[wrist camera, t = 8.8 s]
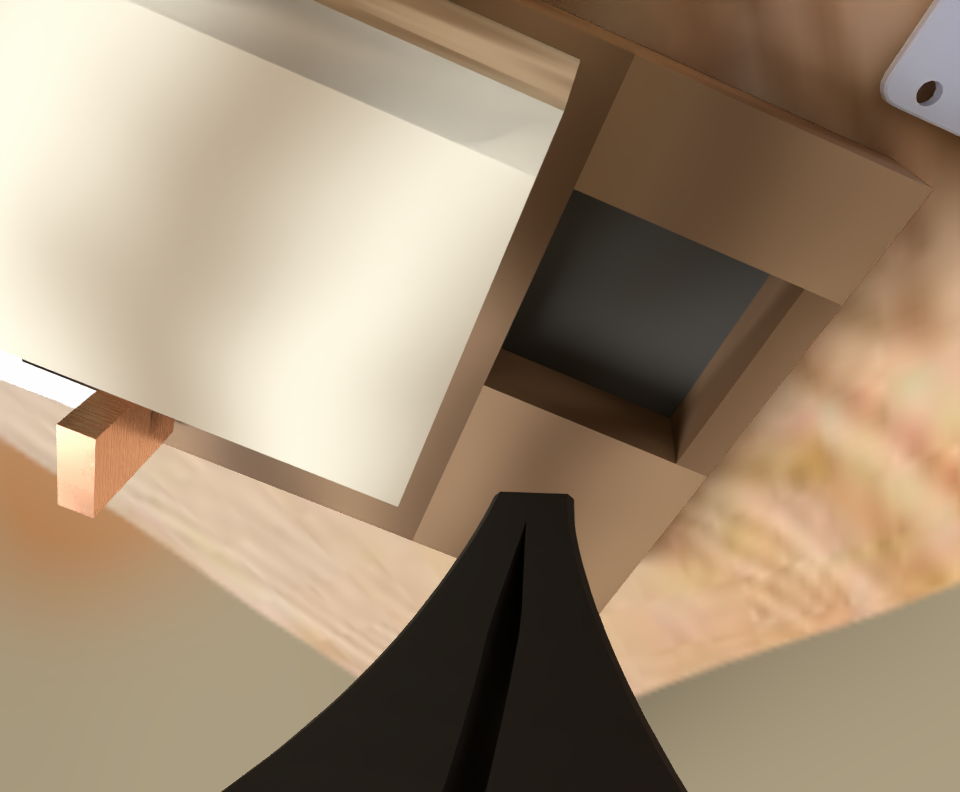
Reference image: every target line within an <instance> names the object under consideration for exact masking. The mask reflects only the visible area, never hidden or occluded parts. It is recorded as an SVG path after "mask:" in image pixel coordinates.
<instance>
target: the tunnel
mask: <svg viewBox="0 0 960 792" xmlns="http://www.w3.org/2000/svg"><path fill="white" fill-rule="evenodd" d="M932 191H933V188H932V187H930V186H929V185H927V184H926V183H925V182H923V181H922V180H921V179H919V178H918V177H917V176H915V175H914V174H913V173H911V172H910V171H908V170H907V169H906V168H904V167H903V166H902V165H900V164H899V163H898V162H896V161H895V160H893V159H891V158H889V157H887V156H885V155H882V154H880V153H878V152H876V151H874V150H871V149H869V148H867V147H865V146H862V145H860V144H858V143H856V142H854V141H851V140H849V139H847V138H845V137H843V136H840V135H838V134H836V133H834V132H831V131H829V130H827V129H825V128H823V127H820V126H818V125H816V124H814V123H812V122H809V121H807V120H805V119H803V118H800V117H798V116H796V115H794V114H792V113H789V112H787V111H785V110H783V109H781V108H778V107H776V106H774V105H772V104H770V103H767V102H765V101H763V100H761V99H758V98H756V97H754V96H752V95H750V94H747V93H745V92H743V91H741V90H739V89H736V88H734V87H732V86H730V85H727V84H725V83H723V82H721V81H719V80H716V79H714V78H712V77H710V76H708V75H705V74H703V73H701V72H699V71H696V70H694V69H692V68H690V67H688V66H685V65H683V64H681V63H679V62H677V61H674V60H672V59H670V58H668V57H666V56H663V55H661V54H659V53H657V52H654V51H652V50H650V49H648V48H646V47H643V46H641V45H639V44H637V43H635V42H632V41H630V40H628V39H626V38H623V37H621V36H619V35H617V34H615V33H612V32H610V31H608V30H606V29H604V28H601V27H599V26H597V25H595V24H592V23H590V22H588V21H586V20H584V19H581V18H579V17H577V16H575V15H573V14H570V13H568V12H566V11H564V10H561V9H559V8H557V7H555V6H553V5H550V4H548V3H546V2H544V1H542V0H0V350H1V351H3V352H6V353H8V354H11V355H13V356H16V357H19V358H21V359H24V360H26V361H29V362H31V363H34V364H36V365H39V366H41V367H44V368H46V369H49V370H52V371H54V372H57V373H59V374H62V375H64V376H67V377H69V378H72V379H74V380H77V381H79V382H82V383H85V384H87V385H90V386H92V387H95V388H97V389H100V390H102V391H105V392H107V393H110V394H112V395H115V396H118V397H120V398H123V399H125V400H128V401H130V402H133V403H135V404H138V405H140V406H143V407H145V408H148V409H151V410H153V411H156V412H158V413H161V414H163V415H166V416H168V417H171V418H173V419H175V420H174V429H173V432H172V434H171V435H170V436H169V437H168V438H167V439H166V440H165V441H164V442H163V443H164V444H166V445H169V446H171V447H174V448H177V449H179V450H182V451H184V452H187V453H189V454H192V455H194V456H197V457H200V458H202V459H205V460H207V461H210V462H212V463H215V464H217V465H220V466H223V467H225V468H228V469H230V470H233V471H235V472H238V473H241V474H243V475H246V476H248V477H251V478H253V479H256V480H258V481H261V482H264V483H266V484H269V485H271V486H274V487H276V488H279V489H281V490H284V491H287V492H289V493H292V494H294V495H297V496H299V497H302V498H304V499H307V500H310V501H312V502H315V503H317V504H320V505H322V506H325V507H327V508H330V509H333V510H335V511H338V512H340V513H343V514H345V515H348V516H350V517H353V518H356V519H358V520H361V521H363V522H366V523H368V524H371V525H373V526H376V527H379V528H381V529H384V530H386V531H389V532H391V533H394V534H396V535H399V536H402V537H404V538H407V539H409V540H412V541H414V542H417V543H419V544H422V545H425V546H427V547H430V548H432V549H435V550H437V551H440V552H443V553H445V554H448V555H450V556H453V557H455V558H458V557H459V555H460V554H461V552H462V551H463V549H464V548H465V546H466V545H467V543H468V542H469V540H470V538H471V537H472V535H473V533H474V532H475V530H476V529H477V527H478V525H479V524H480V522H481V520H482V518H483V517H484V515H485V513H486V511H487V509H488V508H489V506H490V504H491V502H492V500H493V498H494V496H495V495H496V494H498V493H499V492H530V493H559V494H569V495H570V496H571V497H572V498H573V499H574V510H575V530H576V536H577V541H578V546H579V550H580V555H581V559H582V562H583V566H584V569H585V573H586V576H587V579H588V583H589V586H590V589H591V593H592V596H593V599H594V602H595V604H596V607H597V610H598V613H599V614H600V612H601V611H602V610H603V609H604V607H605V606H606V605H607V603H608V602H609V601H610V600H611V598H612V597H613V596H614V595H615V593H616V592H617V591H618V589H619V588H620V587H621V586H622V584H623V583H624V582H625V581H626V579H627V578H628V577H629V575H630V574H631V573H632V572H633V570H634V569H635V568H636V567H637V565H638V564H639V563H640V562H641V560H642V559H643V558H644V556H645V555H646V554H647V553H648V551H649V550H650V549H651V548H652V546H653V545H654V544H655V542H656V541H657V540H658V539H659V537H660V536H661V535H662V534H663V532H664V531H665V530H666V529H667V527H668V526H669V525H670V523H671V522H672V521H673V520H674V518H675V517H676V516H677V515H678V513H679V512H680V511H681V509H682V508H683V507H684V506H685V504H686V503H687V502H688V501H689V499H690V498H691V497H692V495H693V494H694V493H695V492H696V490H697V489H698V488H699V487H700V485H701V484H702V483H703V482H704V480H705V479H706V478H707V476H708V475H709V474H710V473H711V471H712V470H713V469H714V468H715V466H716V465H717V464H718V462H719V461H720V460H721V459H722V457H723V456H724V455H725V454H726V452H727V451H728V450H729V448H730V447H731V446H732V445H733V443H734V442H735V441H736V440H737V438H738V437H739V436H740V435H741V433H742V432H743V431H744V429H745V428H746V427H747V426H748V424H749V423H750V422H751V421H752V419H753V418H754V417H755V415H756V414H757V413H758V412H759V410H760V409H761V408H762V407H763V405H764V404H765V403H766V401H767V400H768V399H769V398H770V396H771V395H772V394H773V393H774V391H775V390H776V389H777V388H778V386H779V385H780V384H781V382H782V381H783V380H784V379H785V377H786V376H787V375H788V374H789V372H790V371H791V370H792V368H793V367H794V366H795V365H796V363H797V362H798V361H799V360H800V358H801V357H802V356H803V355H804V353H805V352H806V351H807V349H808V348H809V347H810V346H811V344H812V343H813V342H814V341H815V339H816V338H817V337H818V335H819V334H820V333H821V332H822V330H823V329H824V328H825V327H826V325H827V324H828V323H829V321H830V320H831V319H832V318H833V316H834V315H835V314H836V313H837V311H838V310H839V309H840V308H841V306H842V305H843V304H844V302H845V301H846V300H847V299H848V297H849V296H850V295H851V294H852V292H853V291H854V290H855V288H856V287H857V286H858V285H859V283H860V282H861V281H862V280H863V278H864V277H865V276H866V274H867V273H868V272H869V271H870V269H871V268H872V267H873V266H874V264H875V263H876V262H877V261H878V259H879V258H880V257H881V255H882V254H883V253H884V252H885V250H886V249H887V248H888V247H889V245H890V244H891V243H892V241H893V240H894V239H895V238H896V236H897V235H898V234H899V233H900V231H901V230H902V229H903V228H904V226H905V225H906V224H907V222H908V221H909V220H910V219H911V217H912V216H913V215H914V214H915V212H916V211H917V210H918V208H919V207H920V206H921V205H922V203H923V202H924V201H925V200H926V198H927V197H928V196H929V194H930V193H931V192H932ZM0 380H1V379H0ZM5 382H6V381H5ZM10 384H11V383H10ZM13 385H14V384H13ZM18 387H19V386H18ZM23 389H24V388H23ZM28 391H29V390H28ZM33 393H34V392H33ZM36 394H37V393H36ZM41 396H42V395H41ZM46 398H47V397H46ZM51 400H52V399H51ZM56 402H57V401H56ZM59 403H60V402H59ZM64 405H65V404H64ZM69 407H70V406H69ZM74 409H75V408H74Z"/></svg>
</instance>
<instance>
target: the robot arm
mask: <svg viewBox="0 0 960 792" xmlns="http://www.w3.org/2000/svg"><path fill="white" fill-rule="evenodd" d="M929 81H934V82H935V84H936V90H935V92H934V95H933V96H932V97H931V98H930V99H929V100H928V101H925V102H923V103H918V102H917V100H916V94H917V92H918V90H919V88H920V87H921V86H922V85H923V84H924V83H927V82H929ZM880 93H881V96H882V98H883V100H885V101H886V102H887V103H888V104H890V105H892V106H894V107H896V108H898V109H900V110H902V111H905V112H907V113H909V114H911V115H913V116H915V117H918V118H920V119H922V120H924V121H926V122H929V123H931V124H933V125H935V126H937V127H940V128H942V129H944V130H946V131H948V132H950V133H953V134H955V135H957V136H959V137H960V0H933V2H932V3H931V5H930V6H929V8H928V9H927V11H926V12H925V14H924V15H923V17H922V18H921V20H920V21H919V23H918V24H917V26H916V27H915V29H914V30H913V32H912V33H911V35H910V36H909V38H908V39H907V41H906V42H905V44H904V45H903V47H902V48H901V50H900V51H899V52H898V54H897V55H896V57H895V58H894V60H893V61H892V63H891V64H890V66H889V67H888V69H887V70H886V72H885V73H884V76H883V78H882V80H881V82H880ZM222 792H687V790H686V788H685V787H684V785H683V784H682V782H681V780H680V779H679V777H678V775H677V774H676V772H675V770H674V768H673V767H672V765H671V763H670V761H669V759H668V758H667V756H666V754H665V752H664V751H663V749H662V747H661V745H660V743H659V742H658V740H657V738H656V736H655V734H654V733H653V731H652V729H651V727H650V725H649V724H648V722H647V720H646V718H645V716H644V715H643V712H642V711H641V708H640V707H639V705H638V702H637V700H636V698H635V696H634V694H633V692H632V690H631V688H630V686H629V684H628V682H627V680H626V678H625V676H624V673H623V671H622V669H621V667H620V665H619V662H618V660H617V658H616V656H615V653H614V651H613V649H612V646H611V644H610V641H609V639H608V636H607V634H606V631H605V629H604V626H603V623H602V621H601V618H600V616H599V613H598V610H597V607H596V604H595V602H594V599H593V596H592V593H591V589H590V586H589V583H588V579H587V576H586V573H585V569H584V566H583V562H582V559H581V555H580V550H579V546H578V541H577V536H576V530H575V510H574V499H573V498H572V497H571V496H570V495H569V494H559V493H530V492H499V493H498V494H496V495H495V496H494V498H493V500H492V502H491V504H490V506H489V508H488V509H487V511H486V513H485V515H484V517H483V518H482V520H481V522H480V524H479V525H478V527H477V529H476V530H475V532H474V533H473V535H472V537H471V538H470V540H469V542H468V543H467V545H466V546H465V548H464V549H463V551H462V552H461V554H460V555H459V557H458V558H457V560H456V561H455V563H454V564H453V565H452V567H451V568H450V570H449V571H448V573H447V574H446V576H445V577H444V579H443V580H442V581H441V583H440V584H439V585H438V587H437V588H436V589H435V591H434V592H433V593H432V594H431V596H430V597H429V598H428V600H427V601H426V602H425V603H424V605H423V606H422V607H421V609H420V610H419V611H418V613H417V614H416V615H415V616H414V618H413V619H412V620H411V621H410V622H409V624H408V625H407V626H406V627H405V628H404V629H403V631H402V632H401V633H400V634H399V635H398V636H397V638H396V639H395V640H394V641H393V642H392V643H391V644H390V645H389V646H388V648H387V649H386V650H385V651H384V652H383V653H382V654H381V655H380V656H379V657H378V658H377V659H376V660H375V662H374V663H373V664H372V665H371V666H370V667H369V668H368V669H367V670H366V671H365V672H364V673H363V674H362V675H361V676H360V677H359V678H358V679H357V680H356V681H355V682H354V683H353V684H352V685H351V686H350V687H349V688H348V689H347V690H346V691H345V692H343V693H342V694H341V695H340V696H339V697H338V698H337V699H336V700H335V701H334V702H333V703H332V704H330V705H329V706H328V707H327V708H326V709H325V710H324V711H323V712H321V713H320V714H319V715H318V716H317V717H315V718H314V719H313V720H312V721H311V722H310V723H308V724H307V725H306V726H305V727H304V728H303V729H301V730H300V731H299V732H298V733H297V734H296V735H294V736H293V737H292V738H291V739H290V740H289V741H287V742H286V743H285V744H284V745H283V746H281V747H280V748H279V749H278V750H276V751H275V752H274V753H273V754H271V755H270V756H269V757H267V758H266V759H265V760H263V761H262V762H261V763H259V764H258V765H257V766H255V767H254V768H253V769H251V770H250V771H249V772H247V773H246V774H245V775H243V776H242V777H241V778H239V779H238V780H236V781H235V782H234V783H232V784H231V785H230V786H228V787H227V788H226V789H224V790H223V791H222Z"/></svg>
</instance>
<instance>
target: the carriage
mask: <svg viewBox="0 0 960 792" xmlns="http://www.w3.org/2000/svg"><path fill="white" fill-rule="evenodd" d="M0 379H1V380H3V381H6V382H8V383H11V384H14V385H16V386H19V387H21V388H24V389H26V390H29V391H31V392H34V393H37V394H39V395H42V396H44V397H47V398H49V399H52V400H54V401H57V402H60V403H62V404H65V405H67V406H70V407H72V408H75V409H74V410H73V411H72V412H71V413H69V414H68V415H67V416H66V417H65V418H63V419H62V420H61V421H60V422H59V423H58V424H57V478H58V505H61V506H63V507H66V508H68V509H71V510H74V511H76V512H79V513H82V514H84V515H87V516H89V517H92V518H94V517H95V516H96V514H98V512H99V511H100V510H101V509H102V508H103V507H104V506H105V505H106V504H107V503H108V502H109V501H110V499H111V498H112V497H113V496H114V495H115V494H116V493H117V492H118V491H119V490H120V489H121V488H122V487H123V485H124V484H125V483H126V482H127V481H128V480H129V479H130V478H131V477H132V476H133V475H134V474H135V472H136V471H137V470H138V469H139V468H140V467H141V466H142V465H143V464H144V463H145V462H146V461H147V459H148V458H149V457H150V456H151V455H152V454H153V453H154V452H155V451H156V450H157V449H158V448H159V447H160V445H161V444H162V443H163V442H164V441H165V440H166V439H167V438H168V437H169V436H170V435H171V434H172V432H173V429H174V420H175V419H173V418H171V417H168V416H166V415H163V414H161V413H158V412H156V411H153V410H151V409H148V408H145V407H143V406H140V405H138V404H135V403H133V402H130V401H128V400H125V399H123V398H120V397H118V396H115V395H112V394H110V393H107V392H105V391H102V390H100V389H97V388H95V387H92V386H90V385H87V384H85V383H82V382H79V381H77V380H74V379H72V378H69V377H67V376H64V375H62V374H59V373H57V372H54V371H52V370H49V369H46V368H44V367H41V366H39V365H36V364H34V363H31V362H29V361H26V360H24V359H21V358H19V357H16V356H13V355H11V354H8V353H6V352H3V351H1V350H0Z"/></svg>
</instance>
